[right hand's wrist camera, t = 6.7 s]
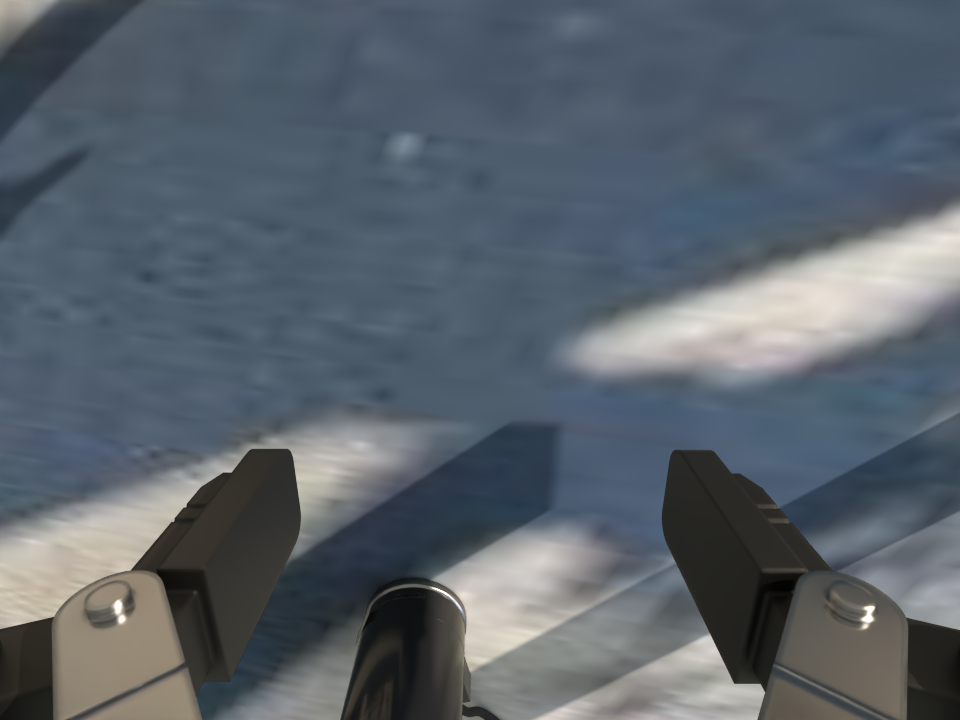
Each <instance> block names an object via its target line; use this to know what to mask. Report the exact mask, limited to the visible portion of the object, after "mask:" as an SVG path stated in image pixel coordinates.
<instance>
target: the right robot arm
mask: <svg viewBox="0 0 960 720" xmlns="http://www.w3.org/2000/svg"><path fill="white" fill-rule="evenodd" d="M300 522H301V511H300V504H299V497H298V490H297V483H296V475H295V468H294V461H293V456H292V454H291V452H290V450H289V449H251V450H249V451H248V453H247V454H246V455H245V456H244V458H243V459H242V460H241V461H240V463H239V464H238V465H237V467H236V468H235V469H234V470H233V472H232V473H222V474H221V475H219V476H218V477H216V478H214V479H213V480H211V481H210V482H208V483H207V484H205V485H204V486H202V487H201V488H200V489H199V490H198V491H197V493H196V494H195V495H194V496H193V497H192V498H191V500H190V501H189V502H188V503H187V507H186V508H183V509H182V510H181V512H180V513H179V514H178V515H177V516H176V517H175V521H174V522H171V523H170V525H169V526H168V527H167V528H166V529H165V530H164V532H163V533H162V534H161V535H160V536H159V538H158V539H157V540H156V541H155V542H154V543H153V545H152V546H151V547H150V548H149V549H148V551H147V552H146V553H145V554H144V555H143V557H142V558H141V559H140V560H139V561H138V562H137V564H136V565H135V566H134V567H133V568H132V570H131V571H125V572H121V573H116V574H113V575H110V576H107V577H104V578H102V579H100V580H97V581H95V582H93V583H91V584H89V585H87V586H86V587H84V588H83V589H81V590H79V591H78V592H77V593H75V594H74V595H73V596H71V597H70V598H69V599H68V600H67V601H66V602H65V603H64V604H63V605H62V606H61V607H60V609H59V610H58V612H57V613H56V615H55V617H52V618H47V619H43V620H39V621H34V622H30V623H26V624H21V625H17V626H13V627H8V628H4V629H0V720H202V716H201V713H200V709H199V706H198V702H197V699H196V695H197V693H198V692H199V690H200V688H201V686H202V684H203V682H230V680H231V678H232V676H233V674H234V672H235V669H236V667H237V665H238V663H239V661H240V659H241V657H242V655H243V653H244V651H245V648H246V646H247V644H248V642H249V640H250V638H251V636H252V634H253V632H254V630H255V628H256V625H257V623H258V621H259V619H260V617H261V615H262V613H263V611H264V609H265V607H266V604H267V602H268V600H269V598H270V596H271V594H272V592H273V590H274V588H275V586H276V583H277V581H278V579H279V577H280V575H281V573H282V571H283V569H284V567H285V565H286V563H287V560H288V558H289V556H290V554H291V552H292V550H293V548H294V546H295V544H296V541H297V538H298V535H299V530H300ZM662 526H663V533H664V537H665V540H666V543H667V545H668V547H669V549H670V551H671V553H672V556H673V558H674V560H675V562H676V564H677V566H678V568H679V570H680V572H681V574H682V576H683V578H684V580H685V582H686V585H687V587H688V589H689V591H690V593H691V595H692V597H693V599H694V601H695V603H696V605H697V607H698V609H699V611H700V614H701V616H702V618H703V620H704V622H705V624H706V626H707V628H708V630H709V632H710V634H711V636H712V638H713V640H714V643H715V645H716V647H717V649H718V651H719V653H720V655H721V657H722V659H723V661H724V663H725V665H726V667H727V669H728V672H729V674H730V676H731V678H732V680H733V682H734V684H761V685H762V687H763V689H764V691H765V695H764V699H763V702H762V706H761V709H760V713H759V716H758V720H960V630H957V629H952V628H948V627H944V626H939V625H935V624H931V623H926V622H922V621H918V620H913V619H909V618H906V617H905V615H904V613H903V612H902V610H901V609H900V607H899V606H898V605H897V604H896V603H895V602H894V601H893V600H892V599H891V598H890V597H889V596H887V595H886V594H885V593H883V592H882V591H881V590H879V589H877V588H876V587H874V586H873V585H871V584H869V583H867V582H865V581H863V580H860V579H858V578H856V577H853V576H850V575H847V574H844V573H839V572H835V571H832V569H831V568H830V567H829V566H828V565H827V563H826V562H825V561H824V560H823V559H822V558H821V556H820V555H819V554H818V553H817V552H816V551H815V549H814V548H813V547H812V546H811V545H810V544H809V542H808V541H807V540H806V539H805V538H804V536H803V535H802V534H801V533H800V532H799V531H798V529H797V528H796V527H795V526H794V525H793V524H792V523H789V519H788V518H787V517H786V515H785V514H784V513H783V512H782V511H781V509H777V505H776V504H775V502H774V501H773V500H772V499H771V498H770V497H769V495H768V494H767V493H766V492H765V491H764V490H763V488H761V487H760V486H758V485H757V484H755V483H753V482H752V481H750V480H749V479H747V478H746V477H744V476H743V475H741V474H732V473H731V472H730V471H729V470H728V468H727V467H726V466H725V465H724V463H723V462H722V461H721V460H720V458H719V457H718V456H717V455H716V453H715V452H714V451H712V450H674V451H673V452H672V454H671V457H670V461H669V468H668V475H667V482H666V489H665V496H664V503H663V510H662ZM362 629H363V630H362ZM361 631H362V634H361ZM465 633H466V611H465V608H464V606H463V604H462V602H461V600H460V599H459V598H458V597H457V595H456V594H455V593H454V592H452V591H451V590H450V589H448V588H447V587H445V586H443V585H441V584H439V583H436V582H433V581H430V580H425V579H404V580H399V581H395V582H392V583H390V584H388V585H386V586H384V587H383V588H381V589H380V590H379V591H377V592H376V593H375V594H374V596H373V597H372V598H371V600H370V601H369V604H368V606H367V610H366V614H365V618H364V622H363V624H362V626H361V629H360V631H359V633H358V637H357V640H358V638H359V636H360V634H361V639H360V642H359V646H358V650H357V654H356V658H355V662H354V666H353V670H352V674H351V678H350V682H349V686H348V690H347V694H346V698H345V702H344V706H343V711H342V715H341V719H340V720H462V715H464V716H467V717H473V716H480V717H482V718H483V719H485V720H499V719H498V718H497V717H495V716H494V715H493V714H491V713H490V712H488V711H487V710H485V709H483V708H481V707H466V706H464V705H463V704H462V703H465V702H470V679H471V675H470V672H469V669H468V666H467V663H466V660H465V657H464V647H465ZM357 640H356V643H357ZM355 645H356V644H355Z"/></svg>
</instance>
